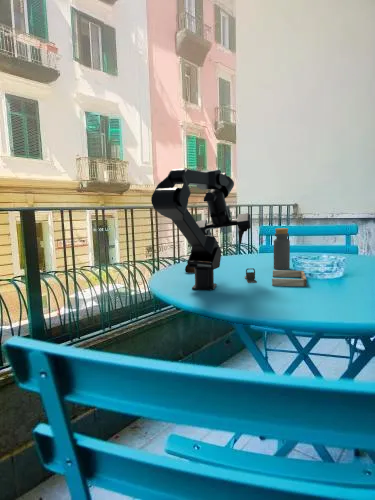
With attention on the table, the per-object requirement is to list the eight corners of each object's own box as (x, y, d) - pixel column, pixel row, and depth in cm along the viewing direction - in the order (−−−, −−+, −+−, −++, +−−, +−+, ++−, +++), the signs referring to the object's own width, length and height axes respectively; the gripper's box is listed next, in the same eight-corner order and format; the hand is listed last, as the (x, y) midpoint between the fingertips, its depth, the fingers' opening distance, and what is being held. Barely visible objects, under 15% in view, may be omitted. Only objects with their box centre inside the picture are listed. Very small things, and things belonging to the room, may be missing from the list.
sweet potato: (207, 273, 131) (198, 257, 131) (191, 282, 133) (182, 267, 133) (215, 264, 149) (206, 250, 149) (200, 272, 150) (192, 259, 150)
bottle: (291, 269, 133) (291, 229, 131) (275, 270, 134) (275, 229, 131) (287, 266, 139) (287, 227, 137) (272, 267, 139) (272, 228, 137)
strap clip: (244, 278, 123) (243, 266, 122) (253, 278, 123) (252, 265, 122) (247, 284, 115) (247, 271, 114) (257, 283, 114) (257, 270, 114)
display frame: (306, 286, 108) (306, 279, 108) (272, 285, 110) (272, 279, 110) (303, 276, 121) (303, 270, 121) (272, 276, 123) (272, 270, 123)
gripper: (247, 189, 120) (254, 227, 129) (193, 198, 125) (204, 235, 134) (246, 206, 111) (254, 246, 120) (188, 216, 116) (200, 253, 125)
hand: (227, 244), depth 125 cm, fingers open, 9 cm apart
